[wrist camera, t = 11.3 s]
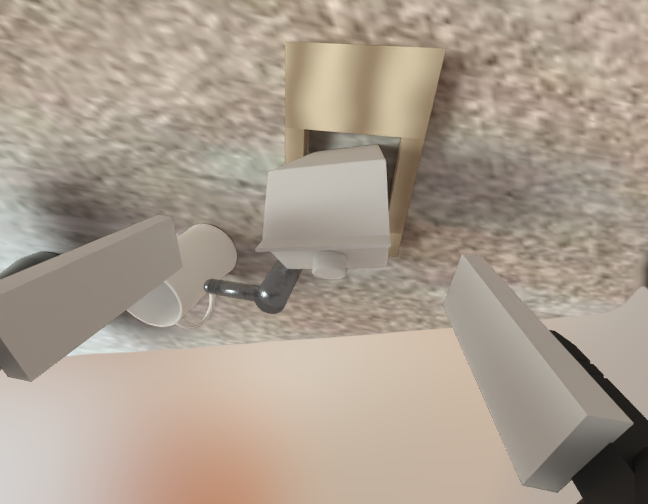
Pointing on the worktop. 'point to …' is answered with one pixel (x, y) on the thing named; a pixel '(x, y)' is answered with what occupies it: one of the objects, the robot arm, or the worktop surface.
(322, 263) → the milk carton
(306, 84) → the tan flat frame
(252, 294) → the metal door lever handle
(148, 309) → the mug
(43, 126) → the worktop surface
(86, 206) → the worktop surface
